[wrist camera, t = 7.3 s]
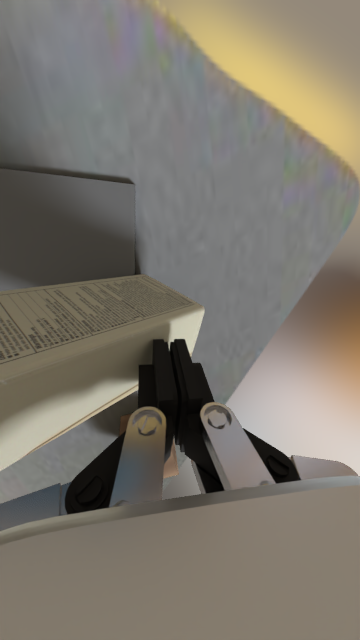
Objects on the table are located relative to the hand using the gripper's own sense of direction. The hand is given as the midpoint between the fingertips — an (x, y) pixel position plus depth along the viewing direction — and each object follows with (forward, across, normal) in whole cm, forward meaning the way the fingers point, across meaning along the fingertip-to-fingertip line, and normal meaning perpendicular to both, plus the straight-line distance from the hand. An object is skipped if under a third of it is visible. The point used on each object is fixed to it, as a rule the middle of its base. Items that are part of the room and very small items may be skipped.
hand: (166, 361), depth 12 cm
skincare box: (+5, -1, 0) cm, 5 cm away
